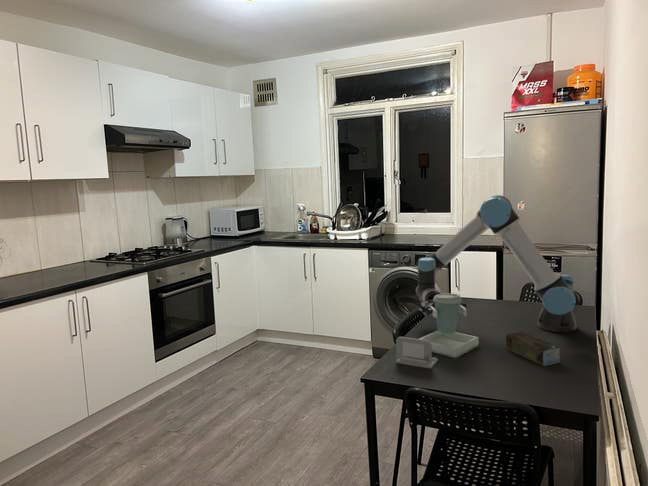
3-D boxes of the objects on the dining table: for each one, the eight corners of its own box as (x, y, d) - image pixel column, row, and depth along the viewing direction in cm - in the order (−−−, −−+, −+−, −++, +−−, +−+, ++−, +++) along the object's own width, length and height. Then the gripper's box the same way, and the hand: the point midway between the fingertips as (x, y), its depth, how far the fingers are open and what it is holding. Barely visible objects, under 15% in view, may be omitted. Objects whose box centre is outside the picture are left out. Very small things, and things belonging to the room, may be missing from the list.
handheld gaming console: (438, 360, 182) (438, 334, 180) (430, 369, 174) (430, 342, 172) (404, 355, 188) (404, 329, 187) (395, 363, 180) (395, 337, 179)
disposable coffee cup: (427, 331, 194) (427, 294, 192) (444, 325, 201) (444, 289, 199) (450, 338, 186) (450, 299, 184) (466, 331, 193) (467, 294, 191)
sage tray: (478, 345, 194) (478, 337, 194) (455, 358, 182) (455, 349, 182) (440, 336, 206) (440, 328, 206) (417, 348, 194) (417, 339, 194)
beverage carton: (542, 367, 172) (543, 349, 171) (504, 349, 190) (505, 333, 189) (560, 363, 175) (560, 345, 174) (521, 346, 192) (521, 330, 192)
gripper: (459, 305, 212) (480, 321, 190) (406, 308, 210) (421, 324, 188) (459, 288, 210) (480, 302, 189) (406, 291, 209) (421, 305, 187)
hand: (450, 313), depth 188 cm, fingers closed on disposable coffee cup, 11 cm apart
